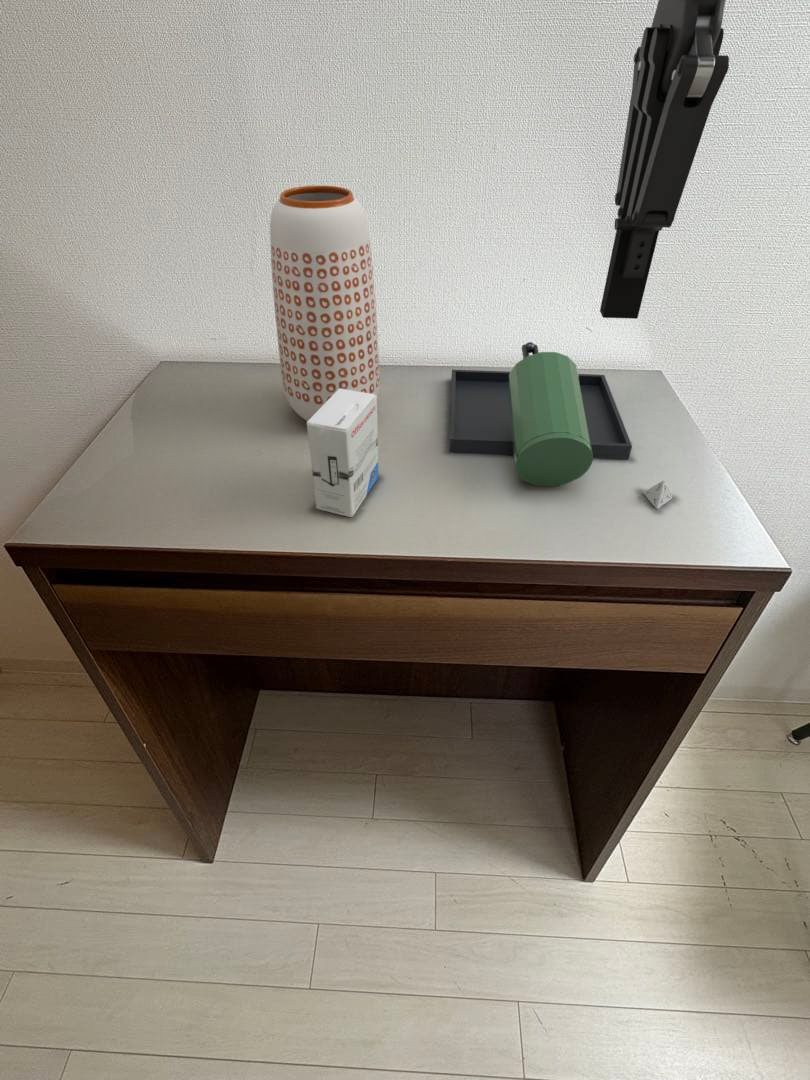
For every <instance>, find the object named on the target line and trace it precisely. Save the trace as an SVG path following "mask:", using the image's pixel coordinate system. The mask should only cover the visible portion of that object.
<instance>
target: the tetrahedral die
mask: <svg viewBox="0 0 810 1080" xmlns="http://www.w3.org/2000/svg"><path fill="white" fill-rule="evenodd" d="M642 494H643V495H644V496H645V497H646V499H648V501H649V502H650V503H651V504H652V505H653V507H654V508H655V509H656V510H659V509H660V508H661V507H662V506H664V505H665V504H667V503H668V502H669V501H670V500H672V499H673V495H672V493H671V491H670V489H669V487H668V485H667V483H666V481H665V480H662V481H660V482H658V483H657V484H655V485H653V486H651V487H649V488H647V489H645V490H643V492H642Z"/></svg>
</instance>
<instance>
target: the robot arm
mask: <svg viewBox="0 0 810 1080" xmlns="http://www.w3.org/2000/svg"><path fill="white" fill-rule="evenodd" d="M725 5H726V0H658V1H657V5H656V8H655V13H654V16H653V18H652V19H653V20H652V23H651V26H646V27H645V29H644V30H643V33H642V38H641V43H640V46H637V48H636V52H635V53H634V56H633V62H634V63H633V73H632V75H633V77H632V87H631V94H630V100H629V108H628V114H627V121H626V127H625V128H626V129H625V133H624V134H625V135H624V141H623V147H622V154H621V161H620V167H619V172H618V181H617V185H616V186H617V188H616V192H615V194H614V204H615V206H617V207H619V208H618V209H617V218H615V219H614V230H615V236H614V239H613V245H612V249H611V255H610V256H611V257H610V260H609V265H608V269H607V275H606V280H605V284H604V289H603V294H602V298H601V303H600V308H599V313H600V314H601V317H602V318H603V319H633V320H634V319H635V320H636V319H638V318H639V314H640V311H641V307H642V302H643V298H644V293H645V289H646V286H647V282H648V278H649V275H650V269H651V266H652V261H653V256H654V254H655V250H656V246H657V241H658V238H659V233H660V232H661V231H662V230H663V229H665V228H667V229H669V228H671V227H672V225H673V223H674V221H675V218H676V217H675V216H676V213H677V211H678V208H679V204H680V201H681V199H682V195H683V192H684V189H685V187H686V183H687V181H688V178H689V174H690V173H691V172H690V171H691V169H692V165H693V163H694V160H695V157H696V153H697V152H698V151H697V150H698V148H699V145H700V142H701V139H702V136H703V132H704V130H705V127H706V124H707V121H708V118H709V114H710V112H711V109H712V106H713V104H714V102H715V99H716V97H717V95H718V93H719V91H720V89H721V86H722V84H723V81H724V80H725V78H726V75H727V73H728V71H729V67H730V56H729V55H727V54H726V55H724V54H722V55H721V54H720V52H721V48H722V44H723V39H724V34H725V31H724V28H723V27H722V25H723V19H724V11H725Z"/></svg>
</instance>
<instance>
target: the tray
mask: <svg viewBox="0 0 810 1080" xmlns="http://www.w3.org/2000/svg"><path fill="white" fill-rule="evenodd" d="M510 372H511V371H506V370H505V371H503V370H477V369H451V381H450V384H451V385H450V420H449V421H450V422H449V423H450V424H449V426H450V427H449V453H465V454H466V453H467V454H468V453H469V454H490V455H491V454H492V455H513V456H514V451H513V440H512V429H511V419H510V408H509V397H508V386H507V383H508V377H509V373H510ZM578 375H579V381H580V386H581V392H582V397H583V403H584V408H585V413H586V419H587V424H588V430H589V435H590V441H591V446H592V452H593V459H614V460H629V458H630V456H631V453H632V448H633V444H632V442H631V440H630V437H629V434H628V432H627V429H626V427H625V424H624V422H623V419H622V416H621V414H620V412H619V409H618V407H617V404H616V401H615V398H614V397H613V393H612V390H611V388H610V385H609V383H608V381H607V378H606V376H605V374H593V373H592V374H591V373H578Z"/></svg>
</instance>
